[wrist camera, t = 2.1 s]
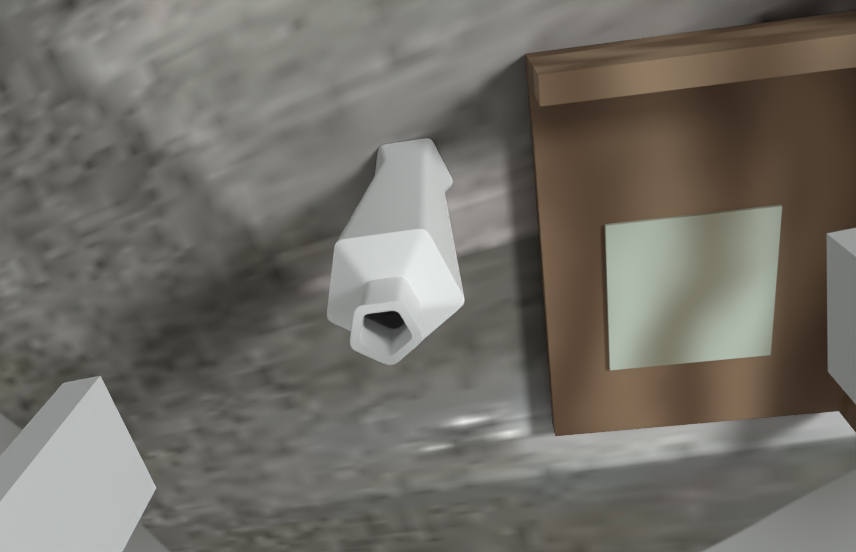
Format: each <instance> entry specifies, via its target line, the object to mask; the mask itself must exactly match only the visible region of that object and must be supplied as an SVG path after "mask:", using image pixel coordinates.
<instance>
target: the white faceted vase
mask: <svg viewBox="0 0 856 552" xmlns="http://www.w3.org/2000/svg"><path fill="white" fill-rule="evenodd" d="M452 184H453V180H452V178H451V176H450V174H449V172H448V170H447V168H446V166H445V164H444V162H443V160H442V158H441V156H440V154H439V152H438V150H437V148H436V146H435V144H434V143H433V141H432V140H431V139H429V138H425V139H418V140H411V141H404V142H398V143H391V144H384V145H381V146H380V147H379V149H378V154H377V162H376V169H375V176H374V178H373V180H372V182H371V183H370V185H369V187H368V189H367V190H366V192H365V194H364V195H363V197H362V199H361V201H360V202H359V204H358V206H357V207H356V209H355V211H354V213H353V214H352V216H351V218H350V220H349V221H348V223H347V225H346V226H345V228H344V230H343V232H342V233H341V235H340V237H339V239H338V240H337V242H336V244H335V247H334V254H333V263H332V272H331V281H330V290H329V299H328V308H327V318H328V319H329V321H331V322H332V323H334V324H336V325H338V326H340V327H343V328H345V329H347V330H349V331H351V336H350V345H351V347H352V349H354V350H355V351H357V352H359V353H361V354H363V355H366V356H368V357H370V358H372V359H375V360H377V361H379V362H381V363H384V364H387V365H394V364H396V363H397V362H399V361H400V360H401V359H402V358H403V357H405V356H406V355H407V354H408V353H409V352H410V351H412V350H413V349H414V348H415V347H416V346H417V345H419V344H420V342H421V341H422V340H423V339H424V338H426V337H427V336H428V335H429V334H430V333H431V332H433V331H434V330H435V329H436V328H437V327H438V326H440V325H441V324H442V323H443V322H444V321H445V320H447V319H448V318H449V317H450V316H451V315H452V314H454V313H455V312H456V311H457V310H458V309H459V308H461V307H462V305H463V304H464V294H463V289H462V283H461V278H460V273H459V267H458V262H457V256H456V251H455V246H454V240H453V235H452V229H451V224H450V218H449V213H448V208H447V202H446V197H445V192H446V191H447V190H448V189H449V188H450V187H451V186H452Z"/></svg>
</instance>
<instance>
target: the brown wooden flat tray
mask: <svg viewBox="0 0 856 552" xmlns="http://www.w3.org/2000/svg"><path fill="white" fill-rule="evenodd" d="M525 55H526V69H527V82H528V96H529V109H530V123H531V137H532V150H533V164H534V178H535V191H536V205H537V218H538V232H539V246H540V259H541V273H542V286H543V300H544V314H545V327H546V341H547V354H548V368H549V382H550V395H551V409H552V423H553V427H554V432H555V436H561V435H573V434H584V433H595V432H607V431H618V430H629V429H640V428H652V427H663V426H674V425H686V424H697V423H708V422H720V421H731V420H742V419H754V418H765V417H776V416H788V415H799V414H810V413H822V412H833V411H839V412H840V413H841V414H842V416H843V417H844V418H845V419H846V421H847V422H848V423H849V424H850V426H851V427H852V428H853V429H854V431H855V432H856V404H855V403H854V402H853V401H852V399H851V398H850V397H849V396H848V395H847V394H846V392H845V391H844V390H843V389H842V388H841V387H840V385H839V384H838V383H837V382H836V381H835V379H834V378H833V377H832V376H831V375H830V374H829V372H828V337H827V233H832V232H837V231H842V230H847V229H852V228H856V10H855V11H848V12H840V13H832V14H825V15H817V16H810V17H802V18H794V19H787V20H779V21H771V22H764V23H756V24H749V25H741V26H733V27H726V28H718V29H711V30H703V31H695V32H688V33H680V34H672V35H665V36H657V37H650V38H642V39H634V40H627V41H619V42H612V43H604V44H596V45H589V46H581V47H574V48H566V49H558V50H551V51H543V52H535V53H528V54H525Z"/></svg>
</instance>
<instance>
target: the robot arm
mask: <svg viewBox="0 0 856 552" xmlns="http://www.w3.org/2000/svg"><path fill="white" fill-rule="evenodd" d="M827 337H828V372H829V374H830V375H831V376H832V377H833V378H834V379H835V381H836V382H837V383H838V384H839V385H840V387H841V388H842V389H843V390H844V391H845V392H846V394H847V395H848V396H849V397H850V398H851V399H852V401H853V402H854V403H855V404H856V228H852V229H847V230H842V231H837V232H832V233H827ZM155 489H156V486H155V484H154V482H153V480H152V478H151V476H150V474H149V472H148V470H147V468H146V466H145V464H144V462H143V460H142V458H141V456H140V454H139V452H138V450H137V448H136V446H135V444H134V442H133V440H132V438H131V436H130V434H129V432H128V430H127V428H126V426H125V424H124V422H123V420H122V418H121V416H120V414H119V412H118V410H117V408H116V406H115V404H114V402H113V400H112V398H111V396H110V394H109V392H108V390H107V388H106V386H105V384H104V382H103V380H102V378H101V376H96V377H91V378H86V379H81V380H76V381H71V382H66V383H63V384H62V385H61V386H60V387H59V388H58V390H57V391H56V392H55V393H54V394H53V395H52V397H51V398H50V399H49V400H48V401H47V402H46V403H45V405H44V406H43V407H42V408H41V409H40V410H39V412H38V413H37V414H36V415H35V416H34V417H33V418H32V420H31V421H30V422H29V423H28V424H27V425H26V427H25V428H24V429H23V430H22V431H21V432H20V434H19V435H18V436H17V437H16V438H15V439H14V441H13V442H12V443H11V444H10V445H9V446H8V447H7V449H6V450H5V451H4V452H3V453H2V455H1V456H0V552H122V551H123V549H124V547H125V546H126V544H127V542H128V540H129V538H130V536H131V534H132V533H133V531H134V529H135V527H136V525H137V523H138V521H139V519H140V518H141V516H142V514H143V512H144V510H145V508H146V506H147V504H148V503H149V501H150V499H151V497H152V495H153V493H154V491H155Z"/></svg>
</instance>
